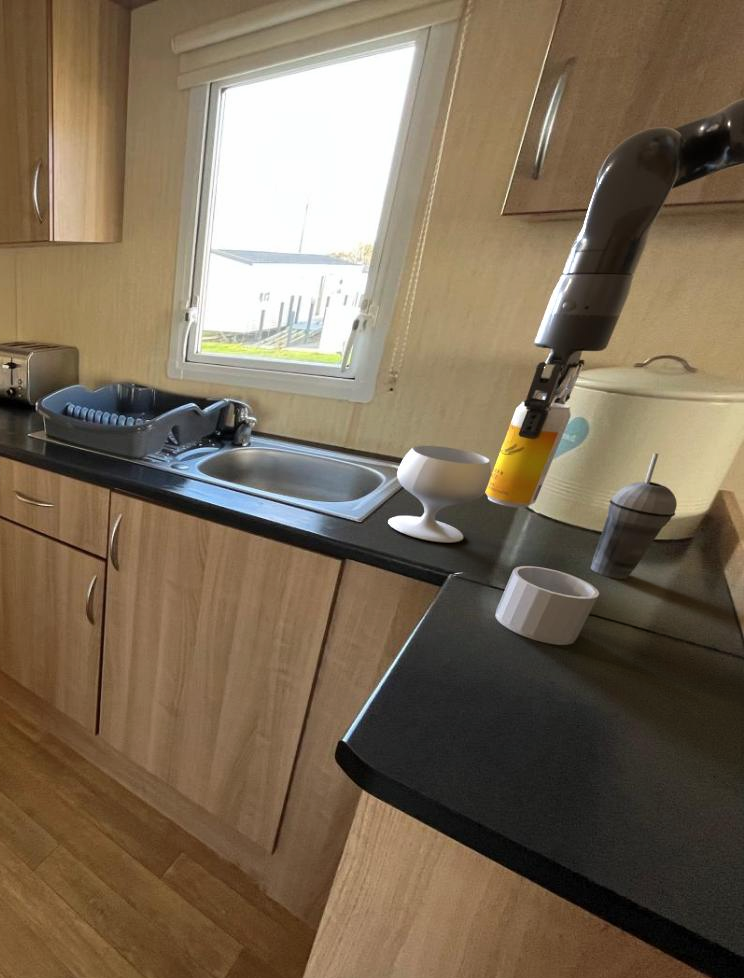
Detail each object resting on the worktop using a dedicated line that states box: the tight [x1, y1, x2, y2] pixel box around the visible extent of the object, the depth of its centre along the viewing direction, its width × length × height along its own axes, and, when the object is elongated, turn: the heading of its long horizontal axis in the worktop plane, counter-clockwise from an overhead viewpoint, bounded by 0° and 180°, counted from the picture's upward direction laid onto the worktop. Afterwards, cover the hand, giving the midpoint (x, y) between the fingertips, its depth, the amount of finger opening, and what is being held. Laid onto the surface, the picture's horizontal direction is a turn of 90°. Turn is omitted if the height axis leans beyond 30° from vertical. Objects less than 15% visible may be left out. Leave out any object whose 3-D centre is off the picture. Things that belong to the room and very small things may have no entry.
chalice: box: [387, 445, 492, 543], centre depth 101 cm, size 14×14×15 cm
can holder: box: [494, 565, 600, 646], centre depth 73 cm, size 9×9×7 cm
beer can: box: [485, 400, 572, 509], centre depth 81 cm, size 6×6×15 cm
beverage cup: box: [590, 452, 678, 580], centre depth 86 cm, size 7×7×20 cm
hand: (534, 434), depth 80 cm, fingers closed on beer can, 6 cm apart
